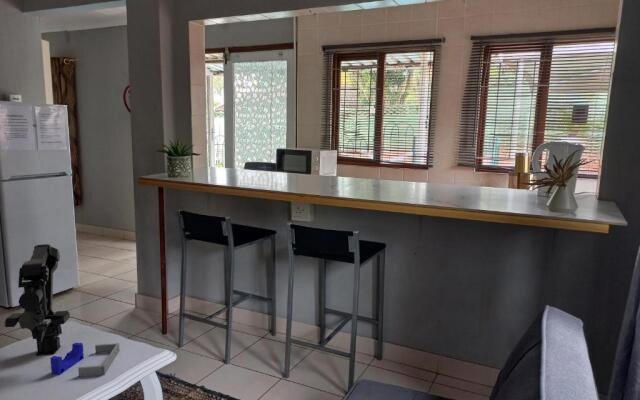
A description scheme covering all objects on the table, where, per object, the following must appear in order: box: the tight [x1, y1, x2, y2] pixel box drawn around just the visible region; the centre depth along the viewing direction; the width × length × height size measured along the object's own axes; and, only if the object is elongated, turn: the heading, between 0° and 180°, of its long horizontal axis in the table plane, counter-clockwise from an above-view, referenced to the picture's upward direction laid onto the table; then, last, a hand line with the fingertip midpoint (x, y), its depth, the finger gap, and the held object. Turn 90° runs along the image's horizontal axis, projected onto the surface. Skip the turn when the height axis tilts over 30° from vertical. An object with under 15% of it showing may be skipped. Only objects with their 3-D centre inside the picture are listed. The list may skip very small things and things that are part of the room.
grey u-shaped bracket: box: [77, 342, 121, 378], centre depth 162 cm, size 8×18×3 cm, turn 8°
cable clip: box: [49, 342, 85, 376], centre depth 160 cm, size 12×4×6 cm, turn 170°
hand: (39, 342), depth 159 cm, fingers closed
